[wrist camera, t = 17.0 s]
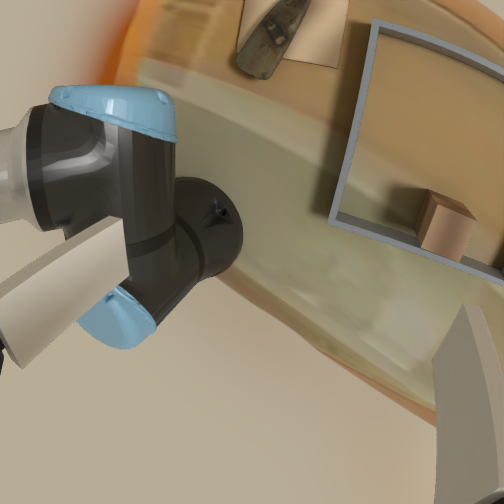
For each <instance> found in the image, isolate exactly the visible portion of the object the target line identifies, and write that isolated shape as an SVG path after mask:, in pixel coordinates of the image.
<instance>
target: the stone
mask: <svg viewBox="0 0 504 504" xmlns="http://www.w3.org/2000/svg"><path fill="white" fill-rule="evenodd" d="M310 3H311V0H280V1H279V2H278V3H277V4H276V5H275V6H274V7H273V8H272V9H271V10H270V11H269V12H268V13H267V14H266V15H265V17H264V18H263V19H262V20H261V22H260V23H259V24H258V25H257V27H256V28H255V30H254V31H253V32H252V34H251V35H250V36H249V38H248V39H247V41H246V42H245V44H244V45H243V47H242V48H241V50H240V52H239V53H238V55H237V57H236V63H237V64H238V66H239V67H240V68H241V70H242V71H245V72H247V73H248V74H249V75H254V76H255V77H256V78H257V79H259V80H268V79H269V78H270V77H271V76H272V74H273V72H274V71H275V69H276V68H277V66H278V64H279V63H280V61H281V59H282V57H283V56H284V54H285V52H286V50H287V49H288V47H289V45H290V43H291V42H292V40H293V38H294V36H295V34H296V32H297V30H298V28H299V26H300V24H301V22H302V20H303V18H304V16H305V14H306V12H307V10H308V8H309V5H310Z"/></svg>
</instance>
